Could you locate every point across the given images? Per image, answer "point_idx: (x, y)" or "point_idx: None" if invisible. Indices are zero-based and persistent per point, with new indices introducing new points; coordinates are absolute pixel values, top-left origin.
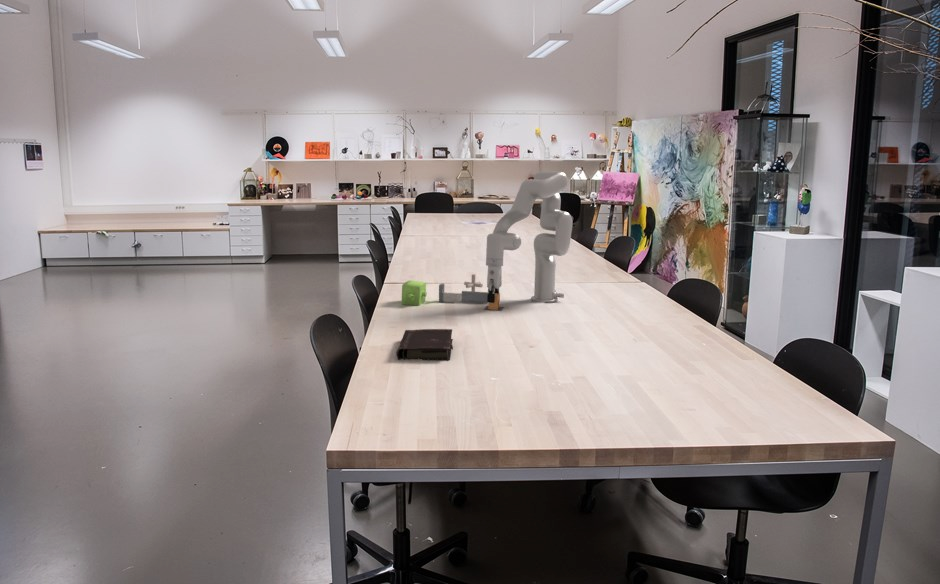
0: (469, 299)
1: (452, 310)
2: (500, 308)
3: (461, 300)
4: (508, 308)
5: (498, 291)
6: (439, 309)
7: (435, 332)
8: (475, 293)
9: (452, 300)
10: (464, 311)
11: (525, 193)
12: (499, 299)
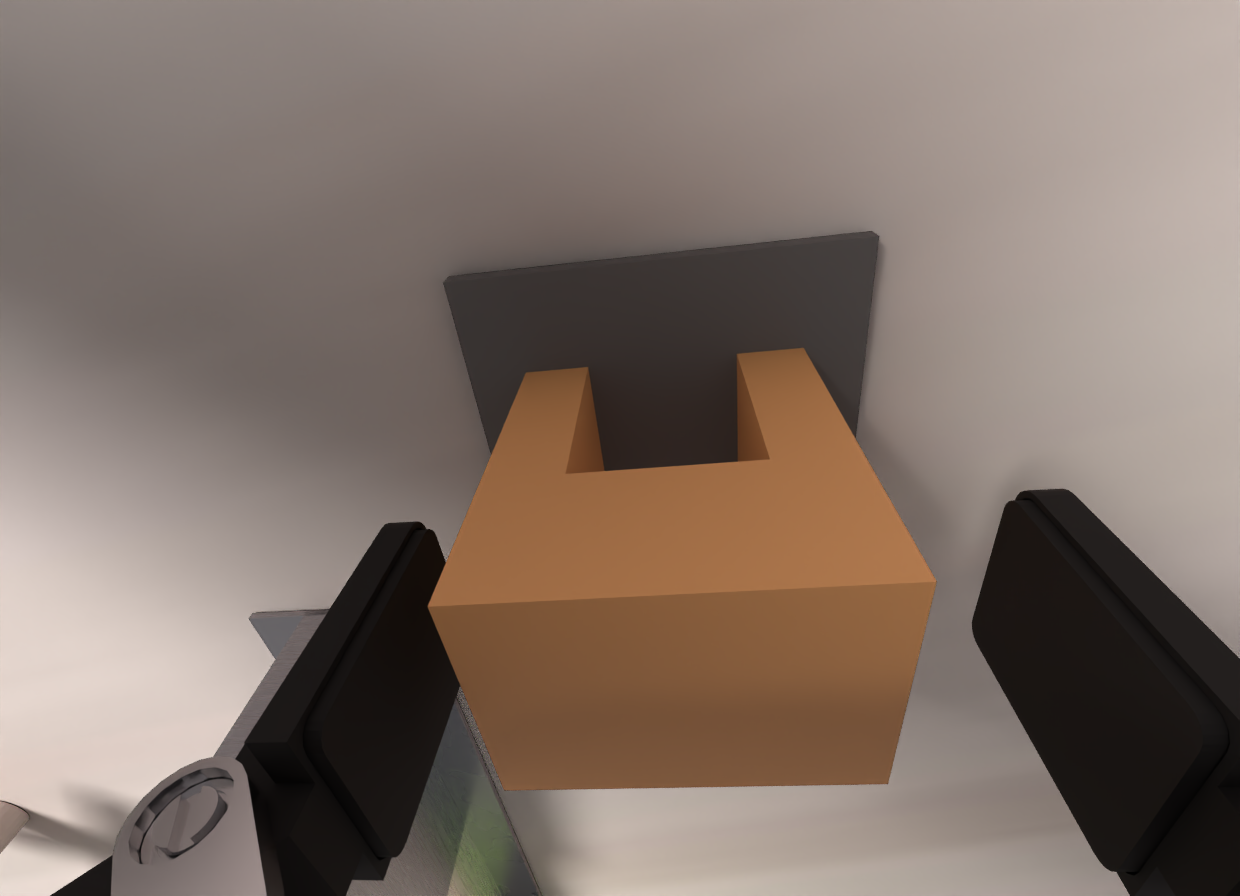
0: (423, 819)
1: (901, 812)
2: (627, 325)
3: (460, 849)
4: (443, 168)
5: (331, 705)
6: (873, 884)
7: None
8: (357, 886)
9: (487, 890)
10: (940, 724)
11: None
12: (526, 473)
